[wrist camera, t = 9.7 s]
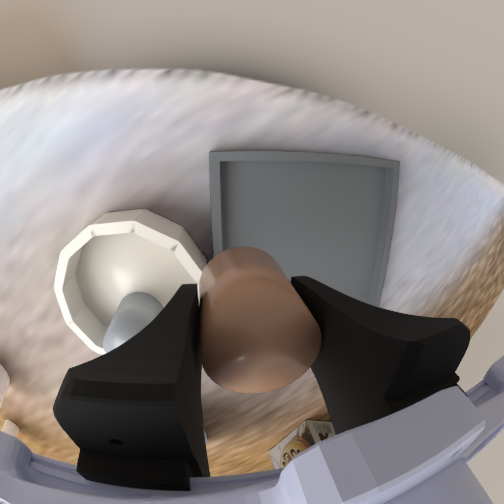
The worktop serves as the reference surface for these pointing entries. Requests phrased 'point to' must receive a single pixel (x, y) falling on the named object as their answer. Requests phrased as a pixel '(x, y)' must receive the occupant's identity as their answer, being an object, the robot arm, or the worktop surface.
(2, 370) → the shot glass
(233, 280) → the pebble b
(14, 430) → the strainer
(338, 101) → the worktop surface
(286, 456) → the coffee box
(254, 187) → the tray
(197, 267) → the bowl
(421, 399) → the robot arm
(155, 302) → the grey rounded cylinder
